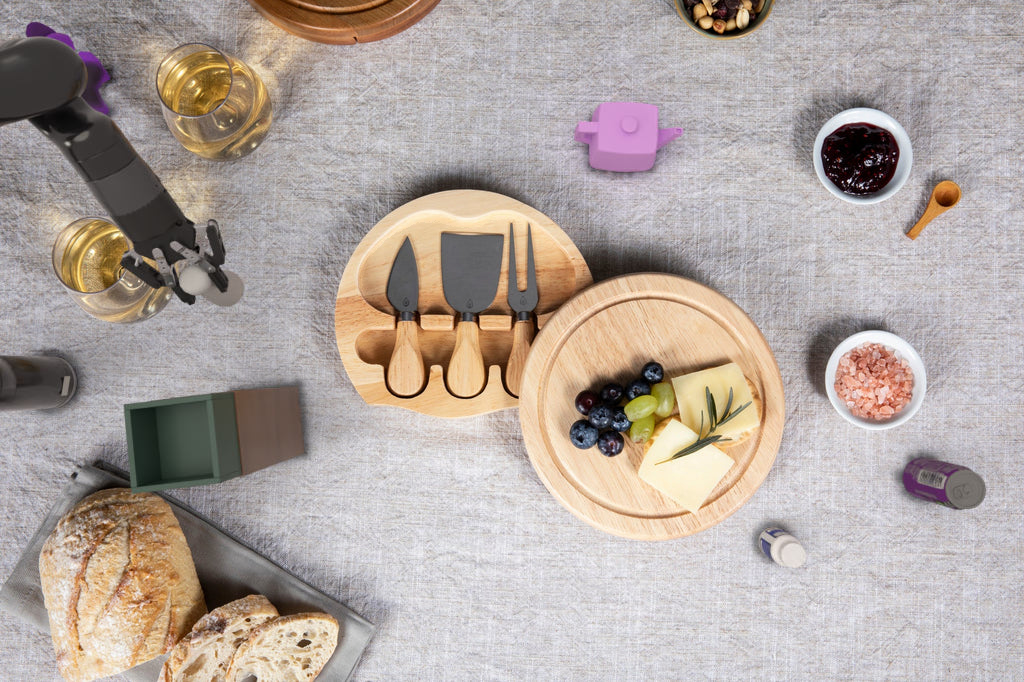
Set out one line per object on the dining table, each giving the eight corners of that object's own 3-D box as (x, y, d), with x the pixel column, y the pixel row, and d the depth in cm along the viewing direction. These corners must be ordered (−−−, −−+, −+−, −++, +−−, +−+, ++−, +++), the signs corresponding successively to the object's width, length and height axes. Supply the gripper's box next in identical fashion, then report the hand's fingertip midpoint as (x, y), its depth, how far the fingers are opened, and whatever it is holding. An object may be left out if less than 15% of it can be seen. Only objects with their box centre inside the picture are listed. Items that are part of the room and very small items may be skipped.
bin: (159, 485, 92) (131, 494, 86) (151, 402, 93) (123, 404, 86) (242, 475, 92) (220, 483, 85) (233, 391, 93) (211, 393, 86)
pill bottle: (778, 562, 116) (799, 578, 107) (752, 546, 116) (771, 561, 107) (794, 536, 116) (816, 550, 107) (768, 520, 116) (788, 533, 107)
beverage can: (912, 505, 116) (957, 520, 104) (892, 468, 116) (935, 479, 104) (948, 486, 116) (997, 499, 104) (928, 449, 116) (975, 458, 104)
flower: (74, 142, 126) (116, 131, 120) (-19, 115, 113) (22, 101, 107) (77, 67, 127) (119, 52, 121) (-15, 32, 114) (26, 12, 107)
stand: (238, 461, 118) (158, 486, 92) (231, 394, 119) (149, 400, 93) (304, 453, 118) (243, 476, 92) (297, 386, 119) (234, 390, 93)
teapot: (674, 118, 120) (688, 95, 109) (671, 176, 119) (685, 158, 109) (574, 114, 120) (579, 90, 110) (571, 171, 120) (575, 152, 109)
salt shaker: (245, 311, 105) (206, 303, 92) (209, 304, 105) (166, 295, 92) (253, 275, 105) (215, 262, 92) (217, 268, 106) (175, 254, 93)
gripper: (74, 231, 82) (159, 328, 93) (182, 190, 82) (254, 292, 94) (87, 202, 87) (166, 298, 99) (189, 163, 88) (256, 263, 99)
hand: (209, 294), depth 96 cm, fingers closed on salt shaker, 4 cm apart
